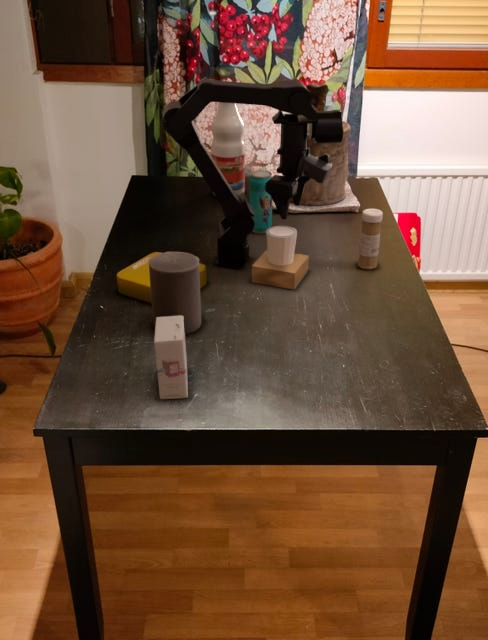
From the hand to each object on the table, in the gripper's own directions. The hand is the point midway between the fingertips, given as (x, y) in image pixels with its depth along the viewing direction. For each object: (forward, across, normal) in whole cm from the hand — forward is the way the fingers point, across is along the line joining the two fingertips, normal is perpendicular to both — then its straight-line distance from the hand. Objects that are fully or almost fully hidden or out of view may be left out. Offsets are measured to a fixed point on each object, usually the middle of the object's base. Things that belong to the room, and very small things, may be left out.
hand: (290, 212), depth 162 cm
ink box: (+12, -57, +2) cm, 58 cm away
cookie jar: (+12, +42, +7) cm, 44 cm away
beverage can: (+12, +15, +13) cm, 23 cm away
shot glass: (+8, -9, -1) cm, 12 cm away
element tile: (+12, -24, +21) cm, 34 cm away
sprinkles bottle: (+12, +4, -18) cm, 22 cm away
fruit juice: (+12, +36, +31) cm, 49 cm away
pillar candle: (+12, -37, +11) cm, 40 cm away
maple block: (+12, -9, -1) cm, 15 cm away
